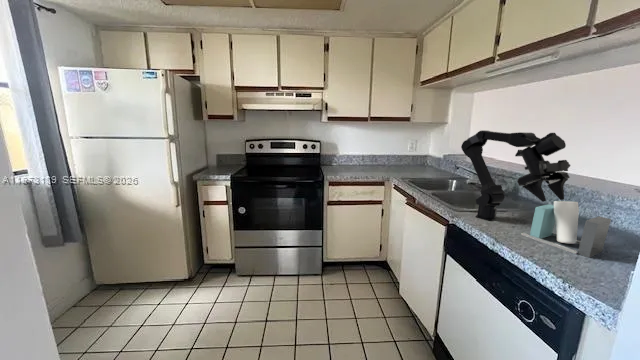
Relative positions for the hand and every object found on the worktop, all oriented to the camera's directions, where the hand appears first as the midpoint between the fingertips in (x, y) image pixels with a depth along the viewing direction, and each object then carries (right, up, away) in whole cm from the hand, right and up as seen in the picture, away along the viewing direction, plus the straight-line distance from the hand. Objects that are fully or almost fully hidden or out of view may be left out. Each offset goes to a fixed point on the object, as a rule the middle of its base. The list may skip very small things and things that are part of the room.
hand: (553, 200), depth 97 cm
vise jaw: (+2, -15, +8) cm, 17 cm away
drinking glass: (+6, -16, +1) cm, 17 cm away
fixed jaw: (+5, -16, +3) cm, 17 cm away
